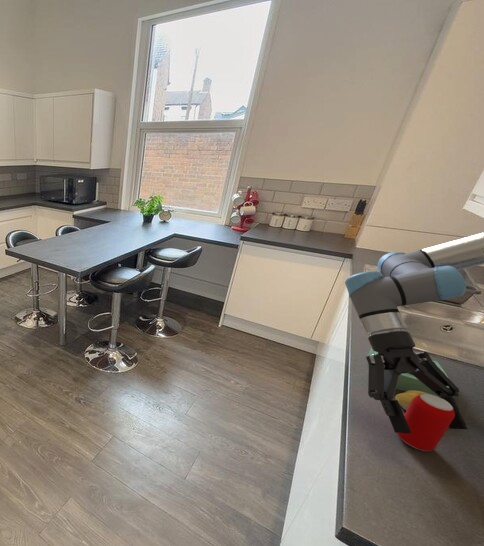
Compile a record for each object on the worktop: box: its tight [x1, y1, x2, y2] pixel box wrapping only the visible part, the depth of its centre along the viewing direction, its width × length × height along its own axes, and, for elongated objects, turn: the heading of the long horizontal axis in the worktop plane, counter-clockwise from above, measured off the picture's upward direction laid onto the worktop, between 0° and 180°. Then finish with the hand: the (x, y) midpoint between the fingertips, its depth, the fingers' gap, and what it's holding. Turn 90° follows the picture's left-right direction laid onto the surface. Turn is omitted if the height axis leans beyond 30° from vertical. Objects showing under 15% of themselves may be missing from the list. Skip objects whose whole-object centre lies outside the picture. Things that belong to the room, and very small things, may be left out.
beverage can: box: [396, 394, 455, 452], centre depth 68 cm, size 6×6×12 cm
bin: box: [367, 346, 455, 399], centre depth 90 cm, size 15×15×5 cm
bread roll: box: [394, 390, 428, 412], centre depth 79 cm, size 8×9×4 cm
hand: (431, 431), depth 67 cm, fingers open, 13 cm apart
